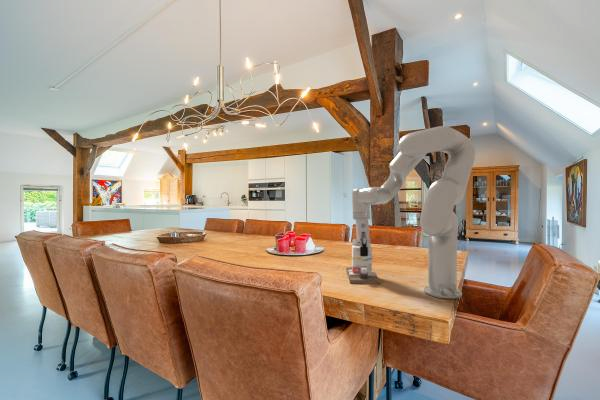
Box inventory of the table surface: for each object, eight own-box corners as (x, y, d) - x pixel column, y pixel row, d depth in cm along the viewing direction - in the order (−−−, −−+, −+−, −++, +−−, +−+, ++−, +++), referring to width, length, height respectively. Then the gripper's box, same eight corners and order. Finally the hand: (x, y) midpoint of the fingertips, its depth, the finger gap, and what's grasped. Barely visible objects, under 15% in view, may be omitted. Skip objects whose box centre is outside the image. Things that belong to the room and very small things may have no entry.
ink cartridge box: (352, 273, 129) (352, 240, 128) (351, 270, 134) (351, 238, 133) (372, 273, 128) (372, 240, 128) (370, 271, 133) (370, 238, 133)
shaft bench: (379, 283, 120) (379, 269, 120) (350, 283, 121) (349, 269, 121) (371, 270, 141) (371, 258, 141) (346, 270, 142) (346, 258, 142)
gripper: (373, 216, 122) (374, 257, 121) (367, 214, 139) (368, 250, 139) (354, 217, 122) (356, 258, 122) (351, 215, 139) (352, 250, 139)
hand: (362, 254), depth 130 cm, fingers open, 9 cm apart
